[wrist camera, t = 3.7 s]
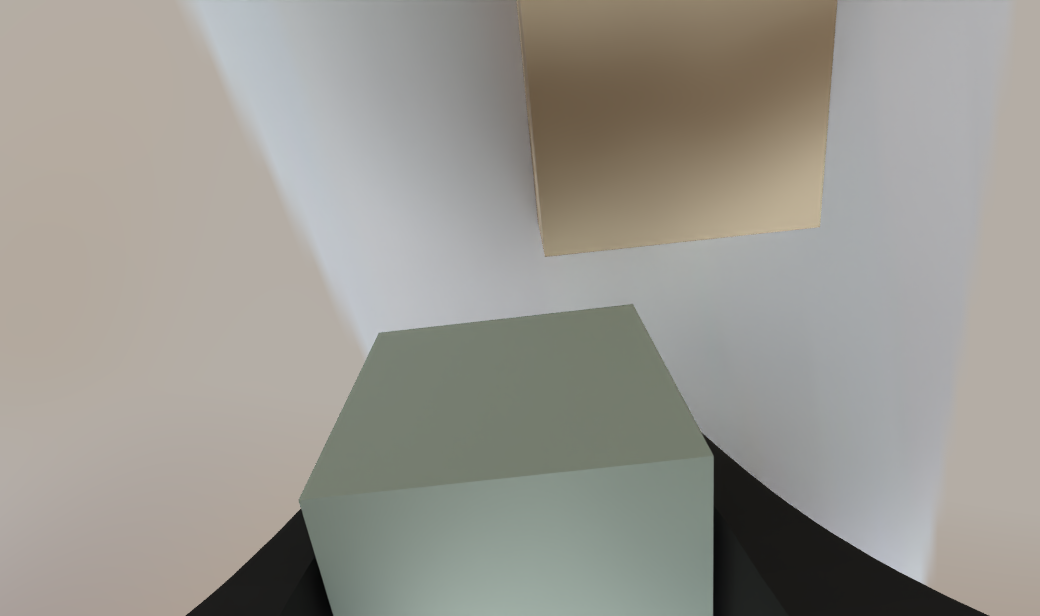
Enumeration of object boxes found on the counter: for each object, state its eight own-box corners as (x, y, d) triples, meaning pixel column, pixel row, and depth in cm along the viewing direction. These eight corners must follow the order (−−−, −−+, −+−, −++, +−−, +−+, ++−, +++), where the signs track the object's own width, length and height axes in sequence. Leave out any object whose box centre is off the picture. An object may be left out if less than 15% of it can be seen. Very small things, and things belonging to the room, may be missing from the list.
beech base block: (759, 195, 19) (819, 227, 16) (537, 220, 19) (545, 256, 16) (769, -60, 17) (844, -96, 13) (513, -30, 17) (515, -57, 13)
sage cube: (642, 510, 14) (712, 737, 9) (422, 533, 14) (379, 769, 9) (632, 304, 12) (713, 455, 7) (378, 332, 12) (298, 499, 7)
